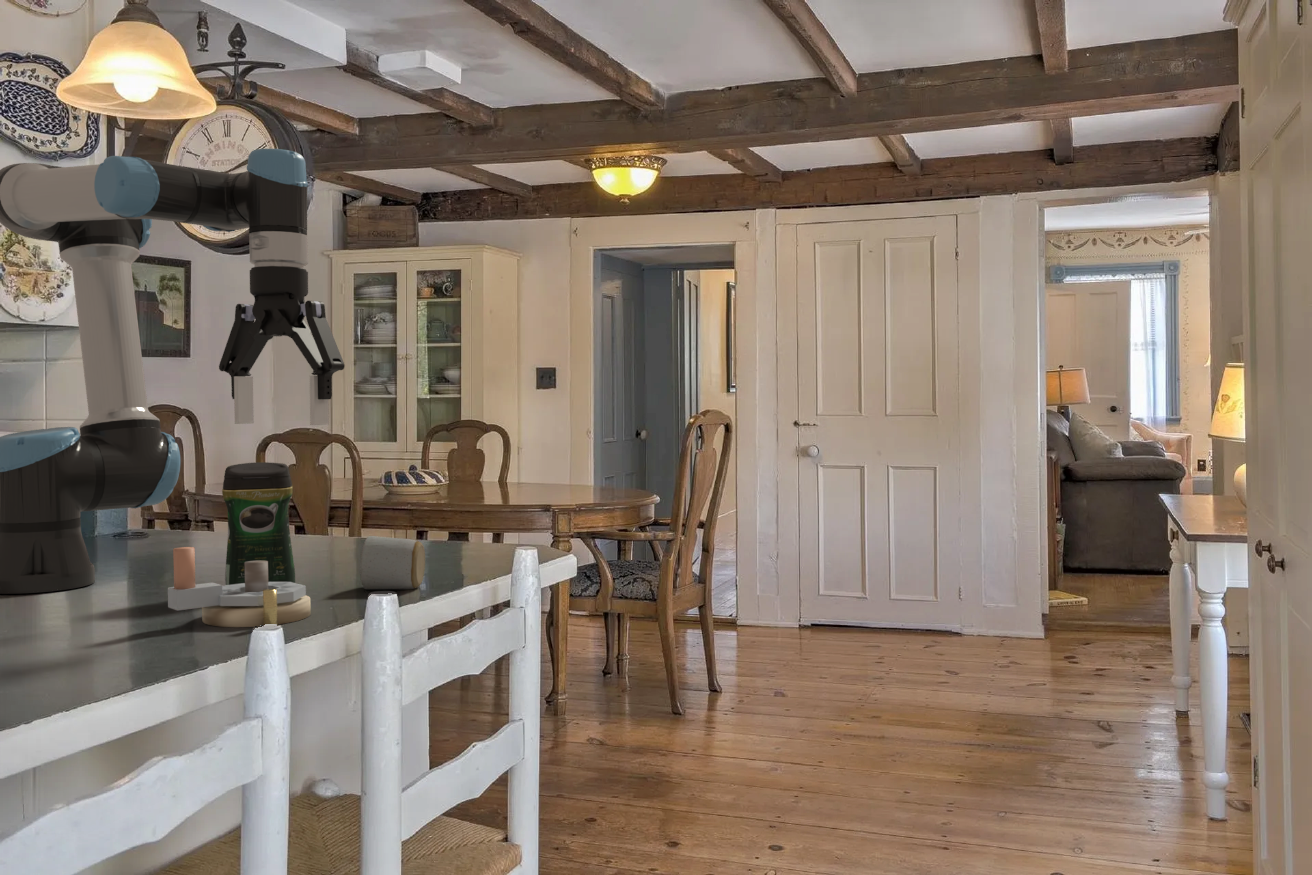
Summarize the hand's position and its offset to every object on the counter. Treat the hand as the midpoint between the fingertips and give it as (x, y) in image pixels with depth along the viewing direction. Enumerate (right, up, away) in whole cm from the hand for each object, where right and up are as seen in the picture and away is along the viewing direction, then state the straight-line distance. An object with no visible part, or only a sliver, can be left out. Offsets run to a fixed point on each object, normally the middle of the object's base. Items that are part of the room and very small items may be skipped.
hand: (281, 424), depth 157 cm
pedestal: (0, -25, -10) cm, 27 cm away
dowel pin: (+4, -25, -17) cm, 30 cm away
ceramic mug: (+13, -24, +12) cm, 30 cm away
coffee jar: (-6, -24, +9) cm, 27 cm away
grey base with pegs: (-2, -22, -12) cm, 25 cm away
